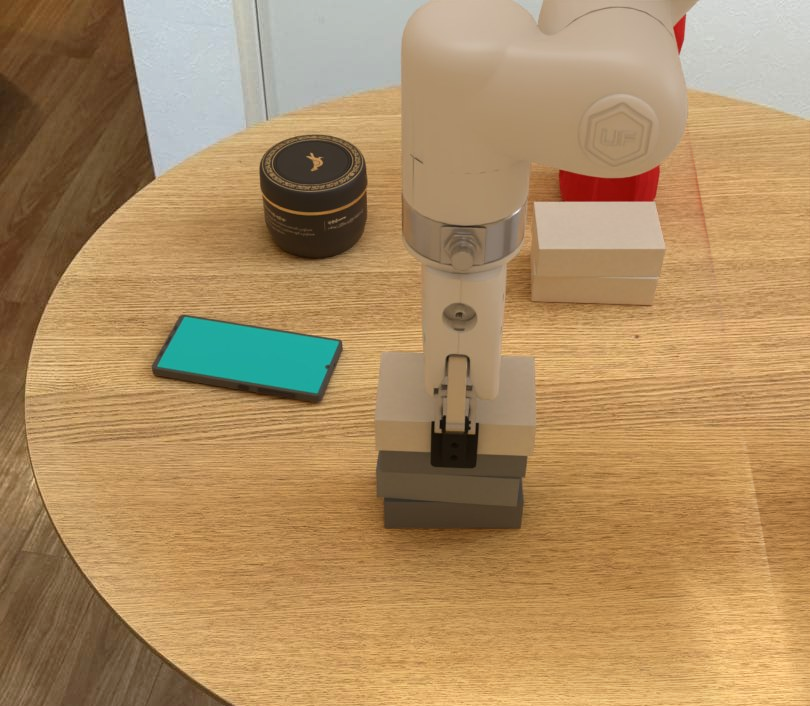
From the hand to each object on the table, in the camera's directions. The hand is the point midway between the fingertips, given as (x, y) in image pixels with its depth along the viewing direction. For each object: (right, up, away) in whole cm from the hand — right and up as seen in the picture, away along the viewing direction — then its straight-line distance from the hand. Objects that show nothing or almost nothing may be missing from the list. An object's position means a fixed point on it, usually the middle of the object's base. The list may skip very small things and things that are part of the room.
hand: (454, 423), depth 83 cm
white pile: (+14, +16, +24) cm, 32 cm away
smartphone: (-17, +7, +17) cm, 25 cm away
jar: (-12, +21, +29) cm, 38 cm away
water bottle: (+16, +26, +33) cm, 45 cm away
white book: (0, 0, 0) cm, 1 cm away
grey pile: (0, -5, +6) cm, 8 cm away
